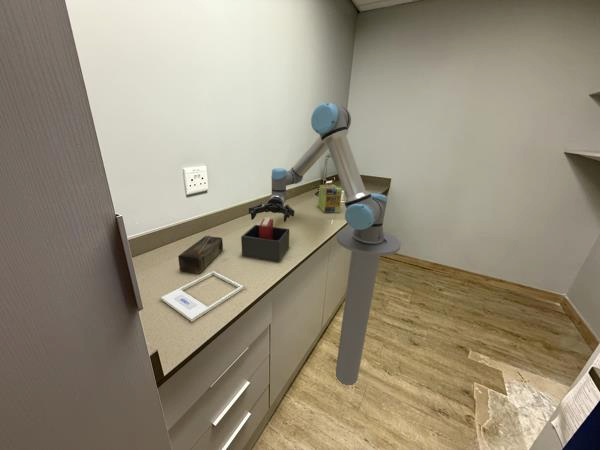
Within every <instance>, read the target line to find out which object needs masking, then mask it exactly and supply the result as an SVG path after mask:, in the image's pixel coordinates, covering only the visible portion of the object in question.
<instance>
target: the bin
mask: <svg viewBox="0 0 600 450" xmlns="http://www.w3.org/2000/svg"><path fill="white" fill-rule="evenodd" d="M259 225H260V224H254V225H253V226H252V227H250V228H249V229H248V230H247V231H246V232H245V233H243V234H242V235H241V236H240V241H241V242H240V243H241V257H243V258H250V259H255V260H261V261H267V262H273V263H280V262H281V260H283V258H284V256H285V254H286V253H287V252H288V250H289V248H290V228H285V227H278V226H277V227H276V226H273V240H269V239H262V238H260V233H259Z"/></svg>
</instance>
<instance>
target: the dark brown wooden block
mask: <svg viewBox="0 0 600 450" xmlns="http://www.w3.org/2000/svg"><path fill="white" fill-rule="evenodd" d="M223 250H224V244H223V237H218V236H211V235H205V236H203V237H202V238H201V239H199V240H198V241H196V242H195V243H194V244H192V245H191V246H189V247H188V248H187V249H185V250H184V251H183V252H181V253H180V254H179V255H177V257H178V259H177V260H178V266H179V271H180V272H187V273H194V274H200V273H201V272H203V271H204V270H205V269H206V268H207V266H209V265H210V263H212V261H214V260H215V259H216V258H217V257H218V256H219V254H220V253H221V252H222V251H223Z"/></svg>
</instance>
